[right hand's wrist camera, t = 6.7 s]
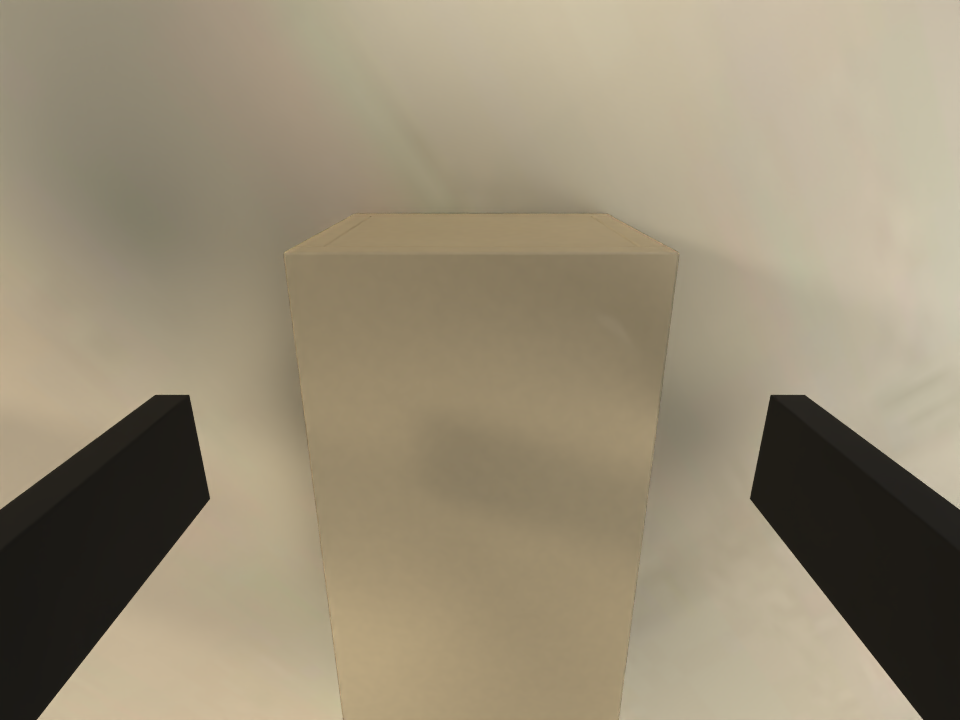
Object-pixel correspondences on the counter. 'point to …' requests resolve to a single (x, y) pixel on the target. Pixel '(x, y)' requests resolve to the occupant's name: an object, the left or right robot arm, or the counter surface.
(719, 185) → the counter surface
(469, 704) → the cabinet
